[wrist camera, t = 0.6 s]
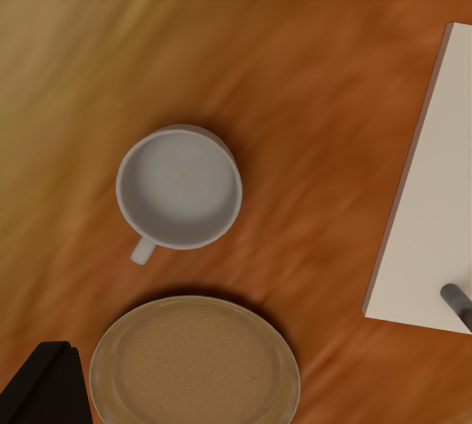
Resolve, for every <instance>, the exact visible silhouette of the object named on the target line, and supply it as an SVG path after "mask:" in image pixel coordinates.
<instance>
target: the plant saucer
mask: <svg viewBox="0 0 472 424" xmlns="http://www.w3.org/2000/svg"><path fill="white" fill-rule="evenodd" d="M300 385H301V384H300V375H299V370H298V366H297V363H296V360H295V357H294V355H293V353H292V351H291V349H290V348H289V346H288V344H287V343H286V341H285V340H284V339H283V337H282V336H281V335H280V334H279V333H278V332H277V331H276V330H275V329H274V328H273V326H272V325H270V324H269V323H268V322H267V321H266V320H264V319H263V318H262V317H260V316H259V315H257V314H256V313H254V312H253V311H251V310H249V309H247V308H245V307H243V306H241V305H238V304H236V303H233V302H231V301H228V300H224V299H220V298H216V297H211V296H203V295H178V296H171V297H166V298H162V299H158V300H154V301H151V302H149V303H146V304H144V305H141V306H139V307H137V308H135V309H133V310H132V311H130V312H128V313H127V314H125V315H124V316H122V317H121V318H120V319H119V320H117V321H116V322H115V323H114V324H113V325H112V326H111V327H110V328H109V329H108V330H107V331H106V333H105V334H104V335H103V337H102V338H101V340H100V341H99V343H98V345H97V347H96V349H95V351H94V354H93V357H92V360H91V365H90V371H89V386H90V393H91V397H92V400H93V403H94V406H95V408H96V410H97V413H98V414H99V416H100V418H101V419H102V421H103V422H104V424H290V422H291V421H292V419H293V416H294V414H295V412H296V409H297V406H298V403H299V398H300Z"/></svg>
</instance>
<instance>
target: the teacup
mask: <svg viewBox="0 0 472 424" xmlns="http://www.w3.org/2000/svg"><path fill="white" fill-rule="evenodd" d="M116 195H117V200H118V204H119V207H120V210H121V212H122V213H123V216H124V217H125V219H126V220H127V221H128V223H129V224H130V225H131V226H132V227H133V228H134V229H135V230H136V231H137V232H138V233H139V234H140V235H142V237H141V239H140V240H139V242H138V244H137V245H136V247H135V249H134V250H133V252H132V254H131V256H130V257H131V259H132V260H133V261H134V262H136V263H138V264H141V265H143V264H145V263H146V262H147V260H148V259H149V257H150V255H151V254H152V252H153V250H154V248H155V247H156V245H160V246H163V247H168V248H172V249H179V250H183V249H194V248H199V247H202V246H205V245H208V244H210V243H212V242H214V241H215V240H217V239H218V238H219V237H221V236H222V235H223V234H225V233H226V231H227V230H228V229H229V228H230V227H231V226H232V224H233V223H234V221H235V219H236V218H237V215H238V213H239V210H240V207H241V203H242V195H243V192H242V182H241V177H240V173H239V171H238V169H237V165H236V162H235V160H234V157H233V155H232V153H231V152H230V150H229V148H228V147H227V146H226V145H225V143H224V142H223V141H222V140H221V139H220V138H219V137H218V136H216V135H215V134H213V133H212V132H210V131H208V130H206V129H204V128H202V127H199V126H195V125H189V124H174V125H169V126H166V127H163V128H160V129H158V130H156V131H154V132H152V133H151V134H149V135H148V136H146V137H145V138H143V139H141V140H140V141H138V142H137V143H136V144H135V145H134V146H133V147H132V148H131V149H130V150H129V151H128V152H127V154H126V155H125V157H124V158H123V160H122V162H121V164H120V167H119V171H118V174H117V180H116Z"/></svg>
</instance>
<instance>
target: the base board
mask: <svg viewBox="0 0 472 424" xmlns="http://www.w3.org/2000/svg"><path fill="white" fill-rule="evenodd" d="M449 283H453V284H456V285H457V286H458V287H459V288H460V289H461V290H462V291H463V292H464V293H465V294H466V295H467V296H468V297H469V298H470V300H471V301H472V25H466V24H461V23H455V22H454V23H449V24H447V26H446V29H445V32H444V36H443V39H442V42H441V46H440V49H439V52H438V56H437V59H436V62H435V66H434V69H433V73H432V76H431V79H430V83H429V86H428V89H427V93H426V96H425V99H424V103H423V106H422V109H421V113H420V116H419V119H418V123H417V126H416V129H415V133H414V136H413V139H412V143H411V146H410V149H409V153H408V156H407V159H406V163H405V166H404V169H403V173H402V176H401V179H400V183H399V186H398V189H397V193H396V196H395V199H394V203H393V206H392V209H391V213H390V216H389V219H388V223H387V226H386V229H385V233H384V236H383V239H382V243H381V246H380V249H379V253H378V256H377V259H376V263H375V266H374V269H373V273H372V276H371V279H370V283H369V286H368V289H367V293H366V296H365V299H364V303H363V306H362V309H361V310H362V312H363V314H364V316H365V317H369V318H375V319H381V320H387V321H394V322H400V323H406V324H412V325H418V326H424V327H430V328H436V329H442V330H448V331H454V332H461V333H467V334H472V333H471V332H470V330H469V329H468V328H467V327H466V326H465V324H464V323H463V322H462V321H461V320H460V318H459V317H458V316H457V315H456V314H455V313H454V311H453V310H452V309H451V308H450V307H449V305H448V304H447V303H446V302H445V301H444V299H443V298H442V297H441V295H440V290H441V288H442V287H443V286H444V285H446V284H449Z"/></svg>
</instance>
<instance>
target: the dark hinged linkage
mask: <svg viewBox="0 0 472 424" xmlns="http://www.w3.org/2000/svg"><path fill="white" fill-rule="evenodd" d="M440 295H441V297H442V298H443V299H444V301H445V302H446V303H447V304H448V305H449V307H450V308H451V309H452V310H453V311H454V313H455V314H456V315H457V316H458V317H459V318H460V320H461V321H462V322H463V323H464V324H465V326H466V327H467V328H468V329H469V330H470V332H471V333H472V301H471V300H470V298H469V297H468V296H467V295H466V294H465V293H464V292H463V291H462V290H461V289H460V288H459V287H458V286H457V285H456V284H453V283H449V284H446V285H444V286H443V287H442V288H441V290H440Z"/></svg>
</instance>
